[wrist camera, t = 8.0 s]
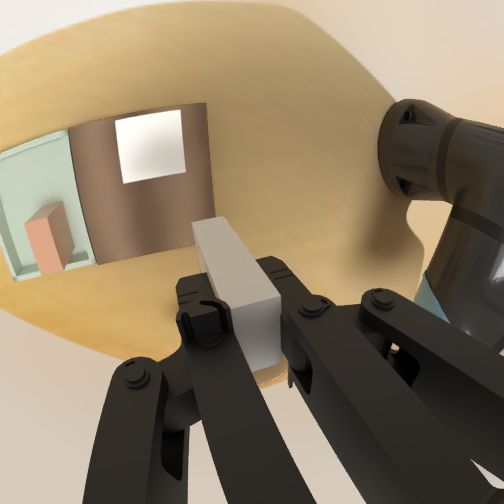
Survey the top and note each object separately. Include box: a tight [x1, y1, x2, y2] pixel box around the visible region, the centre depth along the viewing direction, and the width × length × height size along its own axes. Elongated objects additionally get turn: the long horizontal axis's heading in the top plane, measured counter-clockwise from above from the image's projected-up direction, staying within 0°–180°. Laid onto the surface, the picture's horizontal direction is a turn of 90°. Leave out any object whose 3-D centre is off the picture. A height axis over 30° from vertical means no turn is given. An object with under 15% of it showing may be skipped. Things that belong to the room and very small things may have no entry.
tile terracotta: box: [24, 201, 75, 276], centre depth 21 cm, size 5×5×2 cm
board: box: [69, 103, 215, 265], centre depth 24 cm, size 12×13×3 cm
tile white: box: [115, 110, 186, 184], centre depth 20 cm, size 5×5×2 cm
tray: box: [0, 129, 97, 282], centre depth 21 cm, size 10×13×3 cm
